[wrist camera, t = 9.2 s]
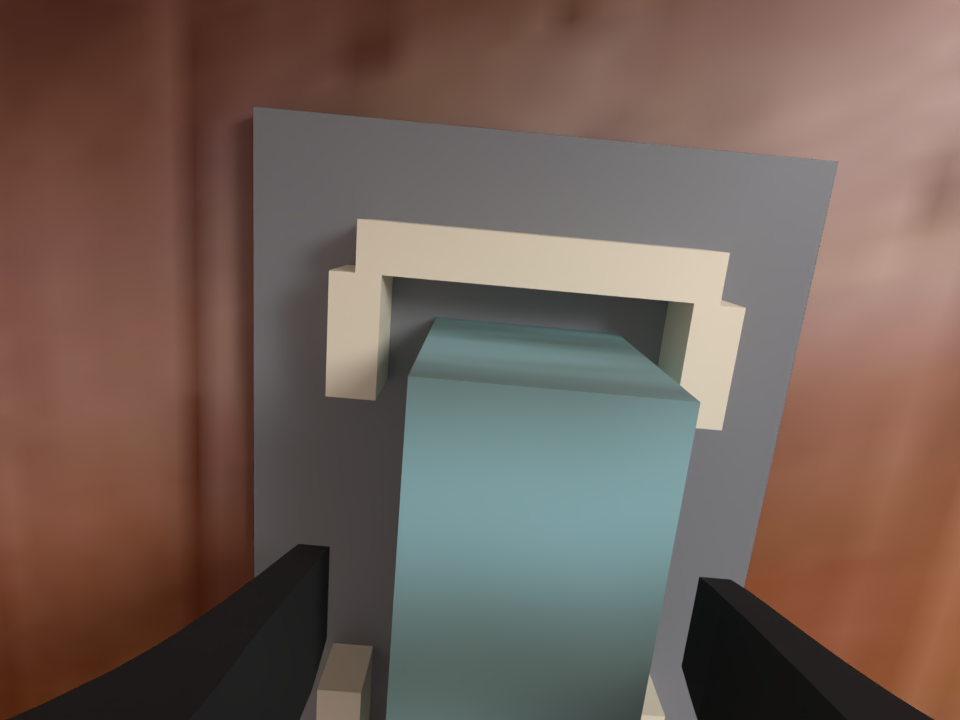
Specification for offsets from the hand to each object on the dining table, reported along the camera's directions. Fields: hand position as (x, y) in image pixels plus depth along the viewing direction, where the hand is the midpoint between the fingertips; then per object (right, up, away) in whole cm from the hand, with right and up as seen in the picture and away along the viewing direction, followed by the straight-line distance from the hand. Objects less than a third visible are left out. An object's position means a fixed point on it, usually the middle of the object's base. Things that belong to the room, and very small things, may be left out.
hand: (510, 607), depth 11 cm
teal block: (0, +1, +3) cm, 3 cm away
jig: (0, +1, +3) cm, 3 cm away
